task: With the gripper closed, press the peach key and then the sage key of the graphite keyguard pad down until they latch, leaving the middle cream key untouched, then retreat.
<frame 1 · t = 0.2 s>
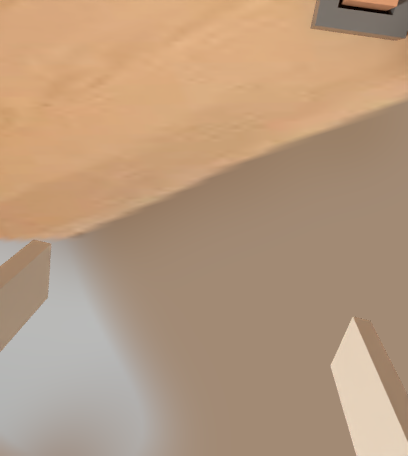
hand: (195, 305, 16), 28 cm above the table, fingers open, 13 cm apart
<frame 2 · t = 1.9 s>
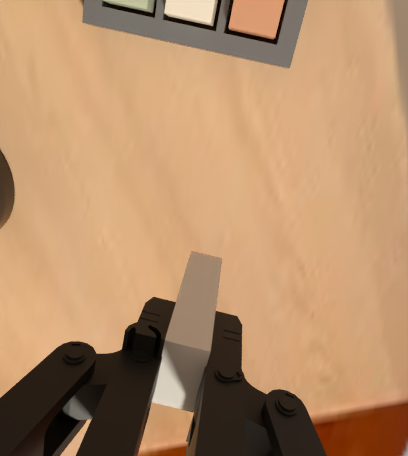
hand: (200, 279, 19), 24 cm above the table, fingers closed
peach key: (257, 7, 32), point 3 cm above the table, slide at 0.0 cm
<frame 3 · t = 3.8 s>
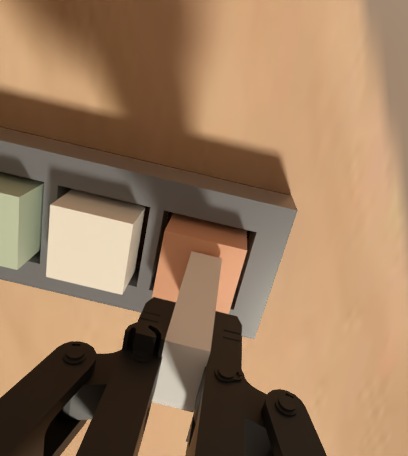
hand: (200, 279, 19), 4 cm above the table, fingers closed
peach key: (199, 264, 20), point 3 cm above the table, slide at 0.1 cm, touching gripper
keyguard: (113, 221, 22), on the table
cream key: (96, 241, 20), point 3 cm above the table, slide at 0.0 cm
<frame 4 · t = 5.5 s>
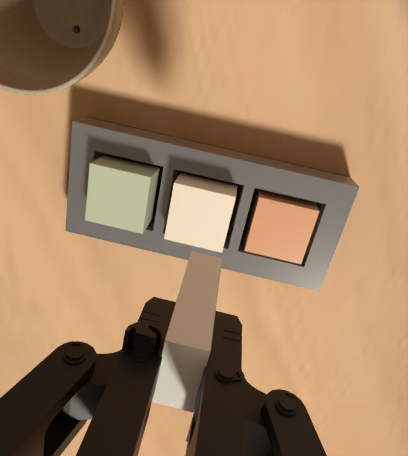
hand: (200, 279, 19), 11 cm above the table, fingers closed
flower pot: (77, 6, 25), on the table
sage key: (122, 193, 26), point 3 cm above the table, slide at 0.0 cm
peach key: (279, 224, 27), point 2 cm above the table, slide at 1.1 cm
keyguard: (205, 199, 28), on the table
cream key: (201, 212, 26), point 3 cm above the table, slide at 0.0 cm
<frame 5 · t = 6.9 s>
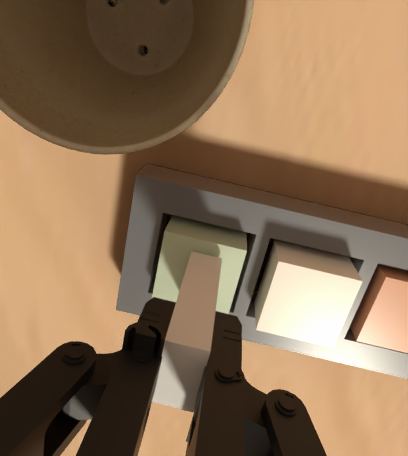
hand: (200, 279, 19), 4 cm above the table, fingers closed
flower pot: (144, 19, 18), on the table
sage key: (199, 265, 20), point 2 cm above the table, slide at 0.3 cm, touching gripper
peach key: (399, 305, 21), point 2 cm above the table, slide at 1.1 cm
keyguard: (296, 267, 22), on the table
cream key: (303, 292, 20), point 3 cm above the table, slide at 0.0 cm
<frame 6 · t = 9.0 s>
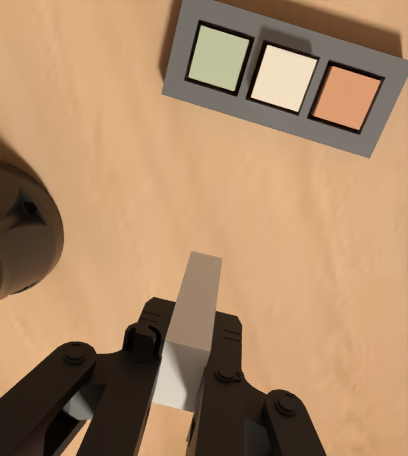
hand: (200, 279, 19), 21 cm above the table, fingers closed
sage key: (219, 59, 32), point 2 cm above the table, slide at 1.1 cm
peach key: (342, 97, 32), point 2 cm above the table, slide at 1.1 cm
keyguard: (279, 78, 34), on the table
cream key: (282, 78, 31), point 3 cm above the table, slide at 0.0 cm
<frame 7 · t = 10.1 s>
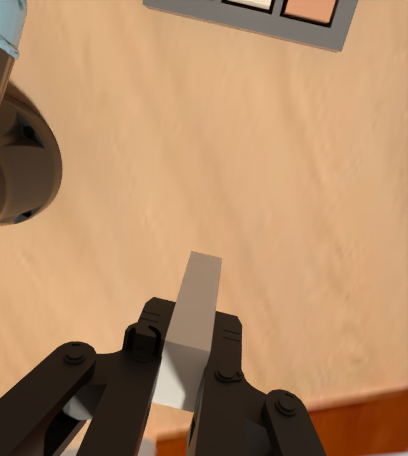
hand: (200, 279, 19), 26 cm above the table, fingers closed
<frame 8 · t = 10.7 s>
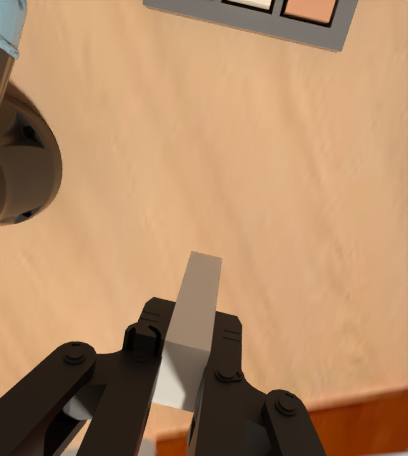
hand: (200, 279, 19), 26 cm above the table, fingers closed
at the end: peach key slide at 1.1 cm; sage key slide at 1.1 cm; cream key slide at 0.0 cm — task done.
